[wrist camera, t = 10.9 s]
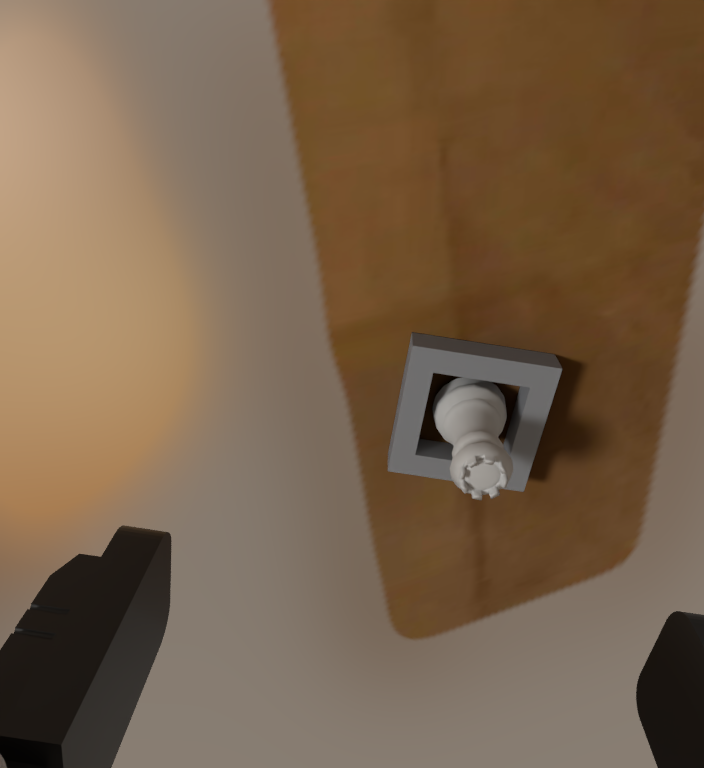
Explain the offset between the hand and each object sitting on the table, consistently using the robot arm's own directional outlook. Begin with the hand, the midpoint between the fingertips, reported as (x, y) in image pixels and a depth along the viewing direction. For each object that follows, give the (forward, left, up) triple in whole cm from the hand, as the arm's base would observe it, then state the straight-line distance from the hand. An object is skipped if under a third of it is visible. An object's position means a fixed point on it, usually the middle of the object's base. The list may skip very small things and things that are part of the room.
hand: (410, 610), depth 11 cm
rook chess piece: (+10, +6, -28) cm, 31 cm away
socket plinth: (+11, +6, -28) cm, 31 cm away
